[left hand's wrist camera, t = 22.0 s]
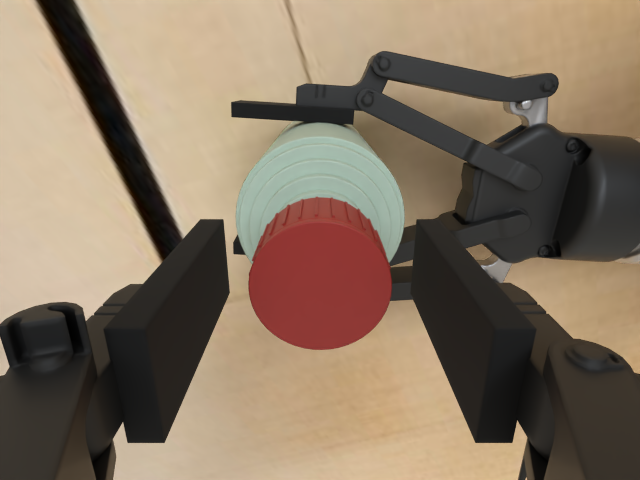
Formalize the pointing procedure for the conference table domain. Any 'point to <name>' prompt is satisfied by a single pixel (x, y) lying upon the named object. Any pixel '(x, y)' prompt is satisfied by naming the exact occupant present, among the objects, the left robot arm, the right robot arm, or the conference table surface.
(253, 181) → the bottle
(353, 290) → the cap
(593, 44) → the conference table surface
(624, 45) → the conference table surface
